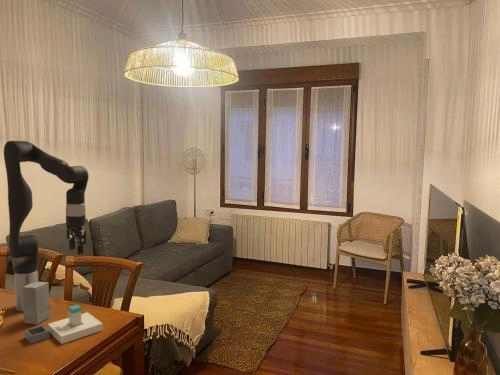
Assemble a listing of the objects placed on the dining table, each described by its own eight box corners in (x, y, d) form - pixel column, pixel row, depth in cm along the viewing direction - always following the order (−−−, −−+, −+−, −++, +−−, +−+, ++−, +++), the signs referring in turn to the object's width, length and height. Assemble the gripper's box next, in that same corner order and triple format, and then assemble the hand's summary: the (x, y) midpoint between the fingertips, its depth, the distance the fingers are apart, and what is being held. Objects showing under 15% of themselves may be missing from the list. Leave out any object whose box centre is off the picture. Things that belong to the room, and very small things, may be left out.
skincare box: (37, 325, 162) (36, 288, 160) (22, 323, 163) (20, 286, 161) (51, 316, 170) (50, 281, 168) (37, 314, 171) (35, 279, 169)
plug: (69, 330, 158) (68, 307, 157) (78, 327, 161) (77, 304, 160) (72, 333, 156) (72, 309, 155) (81, 330, 158) (81, 307, 157)
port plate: (48, 330, 157) (47, 323, 157) (87, 318, 169) (87, 312, 169) (61, 344, 148) (61, 336, 147) (102, 330, 159) (102, 323, 159)
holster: (25, 337, 152) (24, 330, 151) (43, 332, 156) (43, 324, 156) (30, 344, 147) (30, 336, 147) (49, 338, 152) (49, 330, 152)
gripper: (59, 212, 165) (60, 249, 167) (73, 217, 156) (74, 257, 158) (77, 210, 171) (78, 246, 173) (92, 215, 161) (92, 253, 163)
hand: (76, 251), depth 165 cm, fingers open, 8 cm apart
